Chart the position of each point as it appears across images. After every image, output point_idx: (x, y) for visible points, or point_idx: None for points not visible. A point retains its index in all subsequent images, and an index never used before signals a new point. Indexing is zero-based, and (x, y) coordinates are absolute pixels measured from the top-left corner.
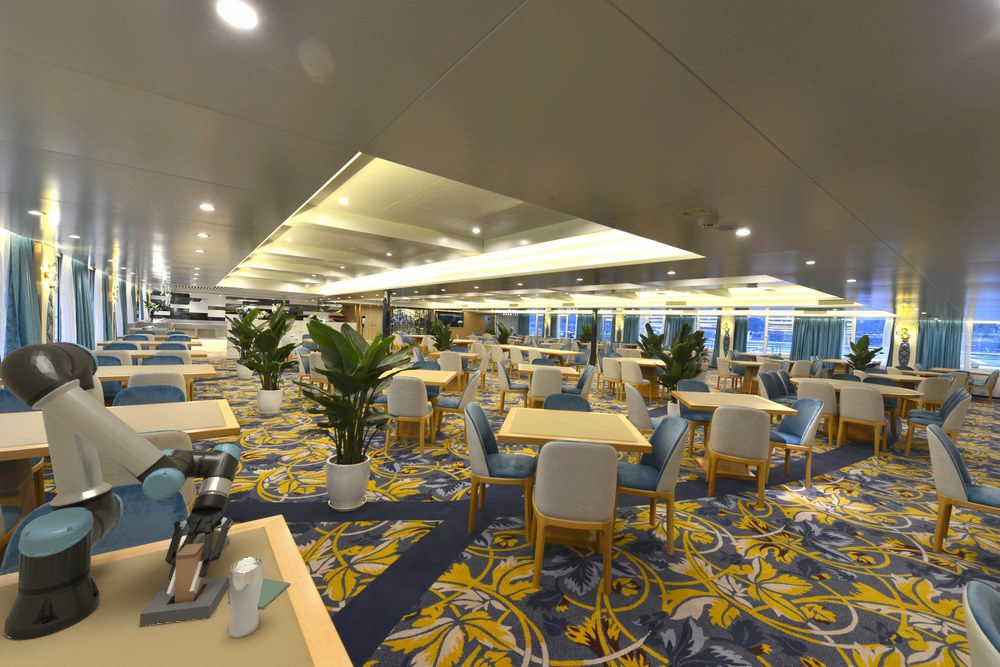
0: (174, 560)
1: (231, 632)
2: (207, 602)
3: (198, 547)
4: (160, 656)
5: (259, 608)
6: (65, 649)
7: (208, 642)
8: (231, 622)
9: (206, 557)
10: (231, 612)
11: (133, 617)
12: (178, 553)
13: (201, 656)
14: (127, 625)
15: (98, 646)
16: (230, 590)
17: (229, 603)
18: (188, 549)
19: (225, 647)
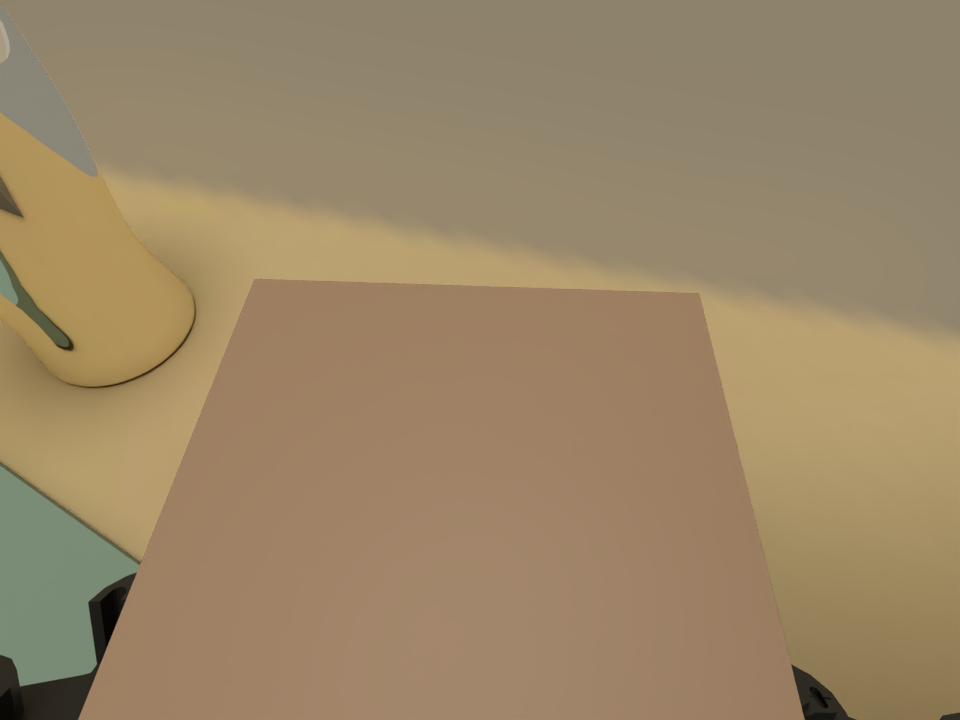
0: (810, 700)
1: (173, 273)
2: None
3: (178, 665)
4: (459, 250)
5: (2, 466)
6: (951, 382)
7: (281, 278)
8: (151, 258)
9: (125, 597)
10: (117, 207)
11: (805, 596)
12: (704, 373)
13: (299, 218)
14: (776, 509)
15: (793, 366)
16: (11, 19)
17: (92, 160)
18: (513, 573)
19: (211, 239)
